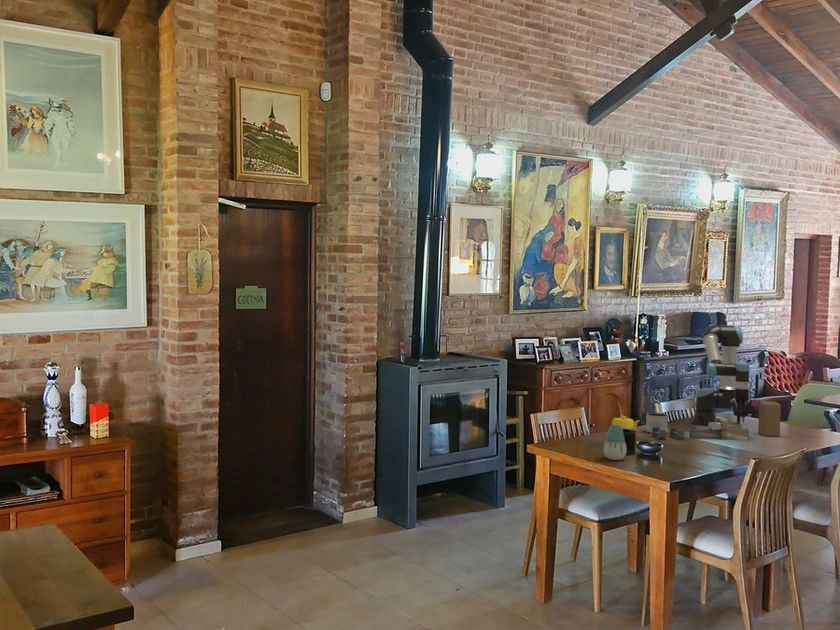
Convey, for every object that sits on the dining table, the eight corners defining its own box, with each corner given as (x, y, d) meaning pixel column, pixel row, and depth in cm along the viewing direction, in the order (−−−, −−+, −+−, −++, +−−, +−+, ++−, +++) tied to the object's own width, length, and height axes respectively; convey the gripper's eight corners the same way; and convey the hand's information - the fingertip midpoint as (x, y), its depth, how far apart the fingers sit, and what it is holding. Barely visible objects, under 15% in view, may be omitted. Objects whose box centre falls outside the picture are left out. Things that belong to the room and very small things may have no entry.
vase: (616, 455, 425) (618, 421, 424) (630, 460, 414) (632, 425, 414) (598, 457, 420) (599, 423, 420) (612, 462, 410) (613, 427, 409)
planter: (654, 429, 502) (654, 411, 501) (671, 433, 492) (672, 415, 491) (641, 431, 494) (642, 413, 494) (658, 435, 484) (659, 416, 484)
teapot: (618, 433, 486) (619, 412, 485) (646, 439, 470) (647, 418, 469) (603, 436, 477) (604, 414, 477) (631, 442, 462) (632, 420, 461)
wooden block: (774, 433, 497) (775, 401, 496) (780, 437, 487) (781, 404, 486) (757, 433, 498) (759, 400, 497) (762, 436, 488) (764, 403, 487)
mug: (627, 455, 425) (628, 433, 425) (605, 450, 437) (606, 428, 436) (640, 453, 432) (641, 431, 432) (617, 448, 443) (618, 426, 443)
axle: (711, 431, 476) (712, 422, 476) (707, 429, 481) (708, 421, 481) (740, 431, 478) (741, 423, 478) (736, 430, 483) (737, 421, 483)
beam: (687, 436, 482) (688, 416, 482) (743, 436, 486) (744, 416, 485) (694, 439, 473) (694, 419, 472) (751, 439, 477) (751, 419, 476)
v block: (651, 436, 481) (652, 426, 481) (676, 436, 482) (676, 427, 482) (659, 439, 470) (659, 430, 470) (683, 439, 472) (684, 430, 471)
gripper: (734, 389, 475) (732, 429, 476) (755, 389, 476) (753, 429, 477) (728, 387, 482) (726, 426, 483) (748, 387, 484) (747, 426, 485)
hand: (740, 427), depth 480 cm, fingers closed
